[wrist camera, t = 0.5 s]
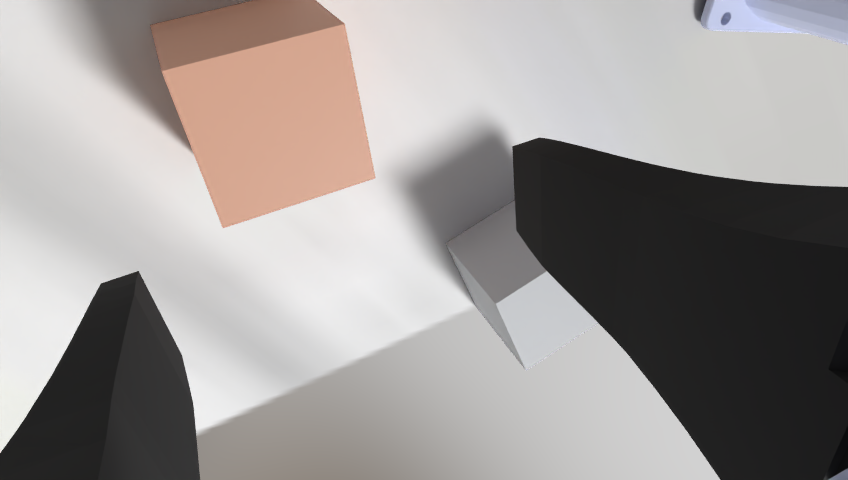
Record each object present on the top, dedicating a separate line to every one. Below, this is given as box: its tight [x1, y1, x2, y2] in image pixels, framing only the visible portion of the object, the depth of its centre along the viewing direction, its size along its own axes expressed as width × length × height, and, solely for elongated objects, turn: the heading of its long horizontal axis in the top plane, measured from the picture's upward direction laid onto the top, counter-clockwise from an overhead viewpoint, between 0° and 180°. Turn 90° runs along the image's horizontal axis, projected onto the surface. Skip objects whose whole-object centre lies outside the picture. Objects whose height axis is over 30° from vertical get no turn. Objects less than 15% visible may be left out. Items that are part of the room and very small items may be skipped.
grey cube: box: [445, 200, 598, 370], centre depth 26 cm, size 4×4×4 cm
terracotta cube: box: [150, 0, 375, 228], centre depth 18 cm, size 4×4×4 cm
